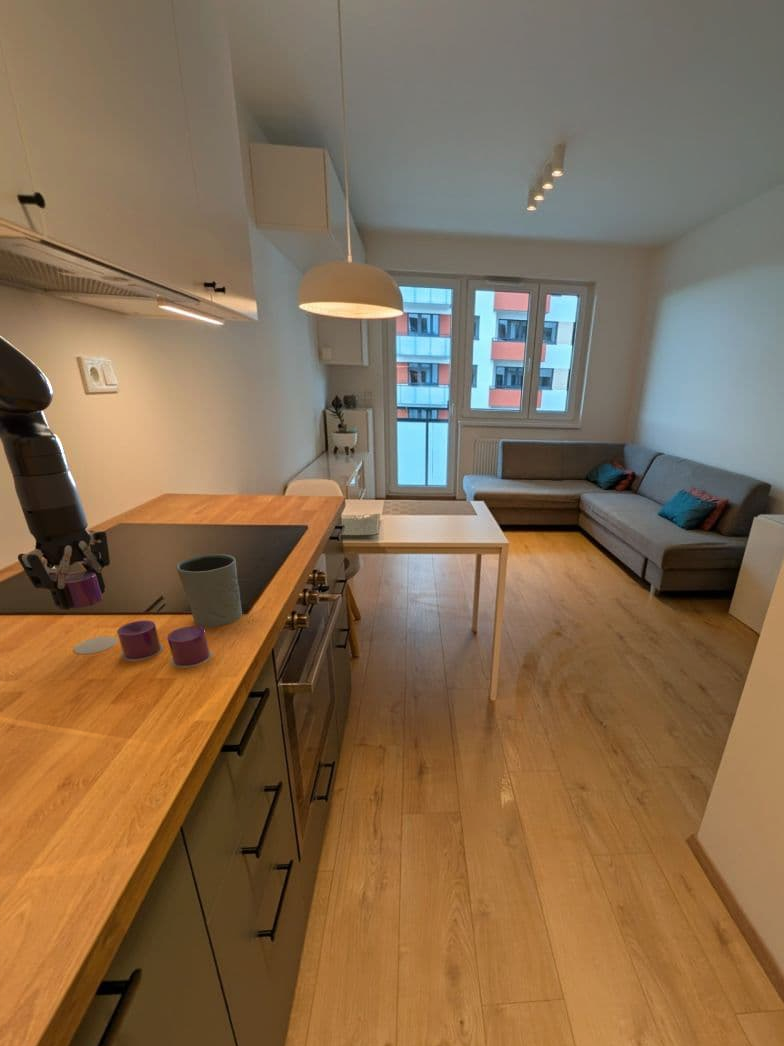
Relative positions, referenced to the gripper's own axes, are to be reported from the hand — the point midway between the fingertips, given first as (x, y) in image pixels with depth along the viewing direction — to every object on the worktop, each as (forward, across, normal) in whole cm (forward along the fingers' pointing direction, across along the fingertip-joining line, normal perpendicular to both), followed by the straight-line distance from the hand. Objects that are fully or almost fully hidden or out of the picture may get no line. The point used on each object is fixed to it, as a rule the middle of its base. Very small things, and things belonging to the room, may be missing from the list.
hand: (82, 600), depth 85 cm
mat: (+9, 0, +9) cm, 13 cm away
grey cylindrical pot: (+9, -15, +13) cm, 22 cm away
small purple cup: (+9, 0, +9) cm, 13 cm away
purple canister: (+9, 0, +19) cm, 21 cm away
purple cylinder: (0, 0, 0) cm, 0 cm away
